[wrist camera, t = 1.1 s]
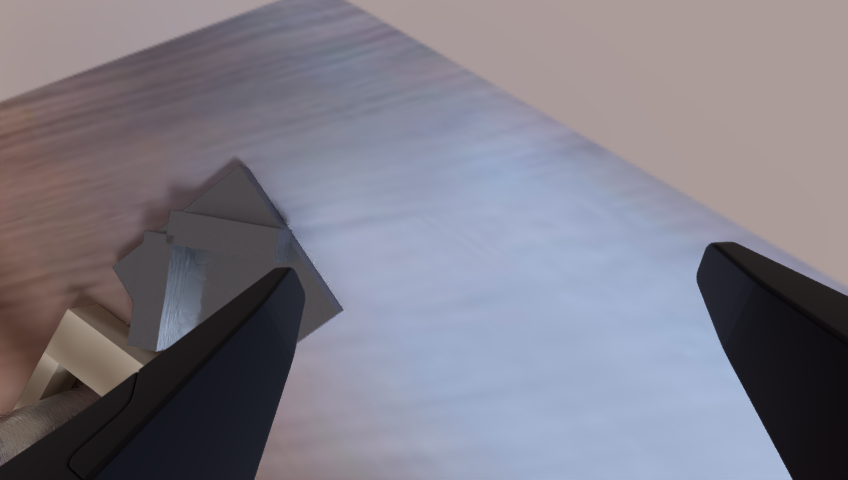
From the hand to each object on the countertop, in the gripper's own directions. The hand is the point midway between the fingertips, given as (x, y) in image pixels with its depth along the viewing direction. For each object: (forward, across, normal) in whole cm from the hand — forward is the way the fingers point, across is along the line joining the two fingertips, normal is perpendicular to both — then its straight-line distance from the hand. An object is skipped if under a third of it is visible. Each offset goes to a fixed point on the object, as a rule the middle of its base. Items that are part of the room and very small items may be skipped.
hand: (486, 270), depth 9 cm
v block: (+11, +16, +10) cm, 22 cm away
